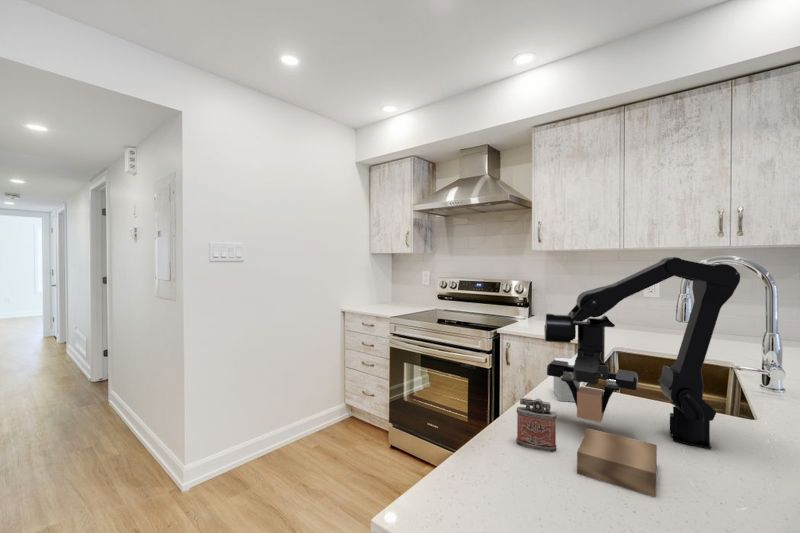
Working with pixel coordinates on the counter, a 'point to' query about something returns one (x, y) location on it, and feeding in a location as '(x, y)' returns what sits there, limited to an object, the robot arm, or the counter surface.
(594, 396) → the terracotta block
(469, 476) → the counter surface
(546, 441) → the lighter
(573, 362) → the small box
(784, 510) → the counter surface
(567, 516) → the counter surface
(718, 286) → the robot arm
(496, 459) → the counter surface
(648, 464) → the plate
